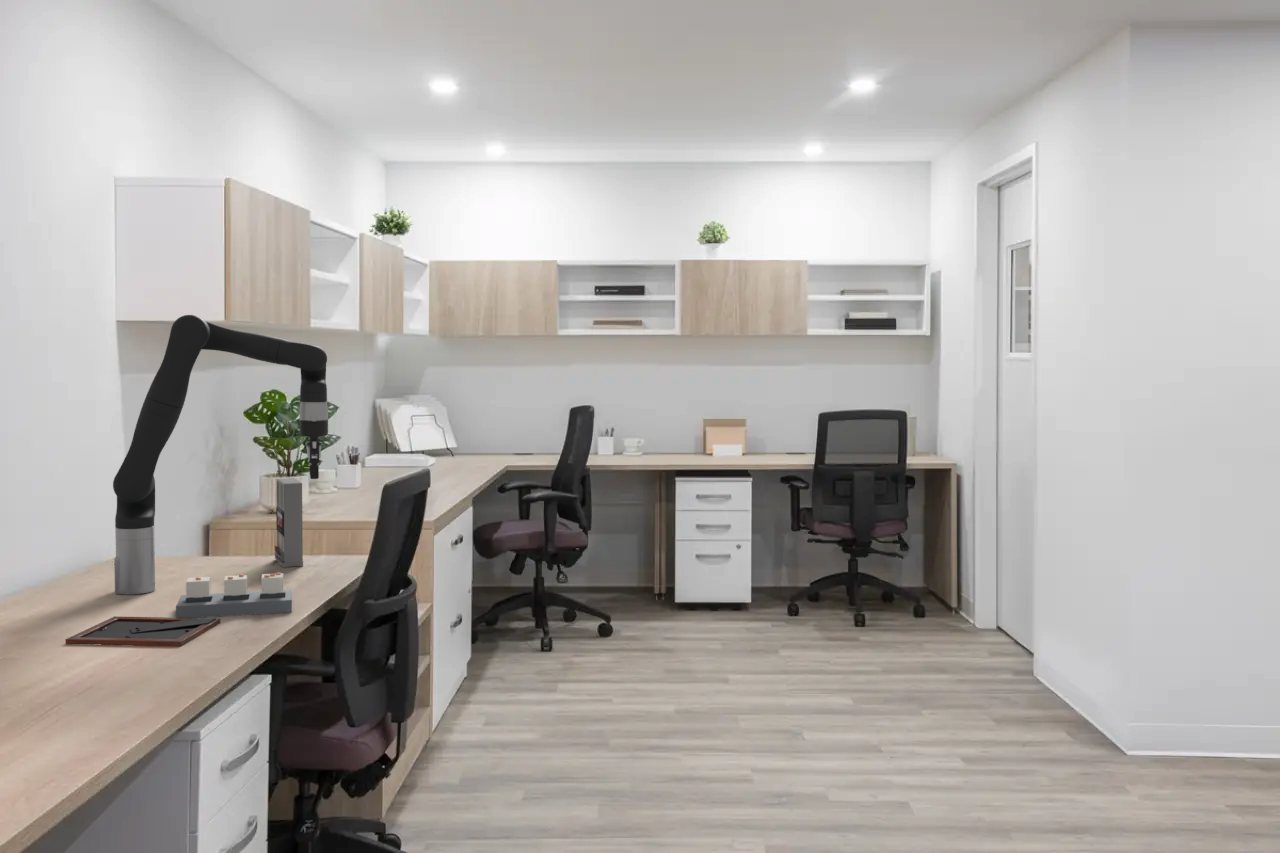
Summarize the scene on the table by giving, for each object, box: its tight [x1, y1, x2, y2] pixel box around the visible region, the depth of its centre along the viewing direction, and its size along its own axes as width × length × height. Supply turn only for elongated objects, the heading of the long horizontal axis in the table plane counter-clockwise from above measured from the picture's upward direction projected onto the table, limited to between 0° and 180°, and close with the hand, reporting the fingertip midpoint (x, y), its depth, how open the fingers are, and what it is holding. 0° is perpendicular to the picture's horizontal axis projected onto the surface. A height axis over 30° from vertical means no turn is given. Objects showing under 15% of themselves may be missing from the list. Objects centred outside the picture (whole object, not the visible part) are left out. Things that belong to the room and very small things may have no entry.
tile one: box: [185, 576, 211, 598], centre depth 253 cm, size 5×5×5 cm
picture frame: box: [65, 616, 221, 648], centre depth 234 cm, size 20×2×25 cm
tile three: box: [261, 571, 284, 594], centre depth 259 cm, size 5×5×5 cm
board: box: [175, 589, 293, 618], centre depth 256 cm, size 26×12×3 cm, turn 108°
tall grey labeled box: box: [274, 477, 304, 569], centre depth 314 cm, size 14×6×25 cm, turn 28°
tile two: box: [223, 573, 248, 596], centre depth 256 cm, size 5×5×5 cm
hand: (314, 477), depth 287 cm, fingers open, 8 cm apart
